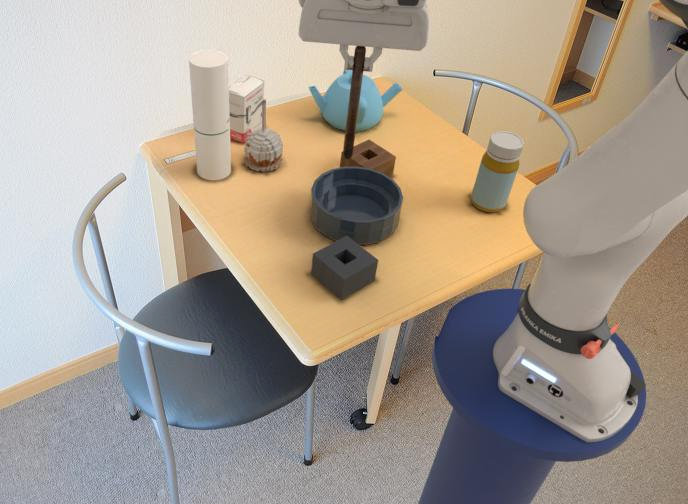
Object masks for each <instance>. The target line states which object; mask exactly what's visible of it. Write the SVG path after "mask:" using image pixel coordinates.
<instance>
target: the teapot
mask: <svg viewBox="0 0 688 504" xmlns="http://www.w3.org/2000/svg"><path fill="white" fill-rule="evenodd" d="M351 78H352V70H344V69H343V73H342V74H341V75H339V76H338V77H336V79H334V81H333V82H332V83H331V84H330V85H329V86H328V87H327V90H326V91H325V93H324V94H323V95H322V93H321V92H320V91H319V89H318V88H317V86H316V85H311V86H308V90H309V92H310V95H312V98H313V99H314V102H315V103H316V105H317V107H318V109H319V111H320V113H321V115H322V117H323V118H324V120H325V121H326V122H327V123H328V124H329V125H330V126H332V127H333V128H336V129H338V130H341V131H344V132H345V130H346V121H347V113H348V104H349V96H350V87H351ZM403 90H404V89H403V88H402V86H401V85H400V84H399V83H398V82H394V83H393V84H392V85H391V86H390V87H389V88H387V90H386V91H385V92H384V93H383V94H382V95H381V93H380V90H379V89H378V87H377V85H376V83H375V81H374V80H373V79H372V78H371V77H369V76H368V75H366V74H363V78H362V86H361V93H360V101H359V109H358V117H357V124H356V132H355V133H358V132H363V131H367V130H369V129H371V128H373V127H375V126H376V125H377V124H378V123H379V122H380V121H381V120H382V118H383V115H384V108H385V107H386V106H387V105H388V104H389V103H390V102H391V101H392V100H393V99H395V97H397V95H399V94H400V93H401V92H402V91H403Z"/></svg>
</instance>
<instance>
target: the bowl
mask: <svg viewBox="0 0 688 504" xmlns="http://www.w3.org/2000/svg"><path fill="white" fill-rule="evenodd" d="M403 199H404V195H403V191H402V189H401V187H400V186H399V185H398V183H397V182H396V181H395V180H394V179H393V178H392V177H388V176H387V175H385V174H384V173H381V172H378V171H376V170H373V169H369V168H364V167H340V166H339V167H335V168H331V169H329V170H327V171H325V172H323V173H321V174H320V175H319V176H318V177H317V178H316V179H314V181H313V184H312V186H311V189H310V199H309V200H310V201H309V218H310V221H311V223H312V225H313V227H315V229H316V230H318V231H319V232H320V233H321V234H322V235H323V236H325V237H327V238H329V239H332V240H334V241H337V240H339V239H341V238H343V237H345V236H348V237H350V238H351V239H352V240H353V241H355V242H356V243H357V244H359V245H370V244H374V243H379V242H382V241H383V240H385V239H386V238H387V239H388V238H389V237H391V236H392V234H394V232H395V231H396V230H397V228H398V225H399V222H400V221H399V220H400V216H401V211H402V206H403V202H404V201H403Z"/></svg>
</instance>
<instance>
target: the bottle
mask: <svg viewBox="0 0 688 504" xmlns="http://www.w3.org/2000/svg"><path fill="white" fill-rule="evenodd" d="M524 145H525V141H524V139H523V137H521V136H520V135H518V134H516V133H514V132H511V131H507V130H506V131H505V130H500V131H499V130H498V131H495V132H493V133H492V134H491V135H490V137H489V141H488V144H487V148H486V151H485V152H484V153H483V154H482V157H481V159H480V163H479V167H478V171H477V174H476V178H475V181H474V184H473V188H472V191H471V194H470V195H471V196H470V202H471V203H472V204H473V206H474V207H475V208H476V209H477V210H479V211H481V212H485V213H490V214H491V213H492V214H493V213H498V212H500V211H502V210H504V209H505V208H506V206H507V203H508V200H509V197H510V194H511V192H512V189H513V185H514V183H515V180H516V176H517V174H518V171H519V168H520V157H521V154H522V152H523V148H524Z"/></svg>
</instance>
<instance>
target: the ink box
mask: <svg viewBox="0 0 688 504" xmlns="http://www.w3.org/2000/svg"><path fill="white" fill-rule="evenodd" d="M263 99H265V80H263V79H261V78H259V77H256V76H252V75H249V74H246V75H243V76H242V77H240V79H238V80H236V81H235V82H234V83H233V84H231V85H229V113H230V140H233V141H237V142H240V143H242V144H244V143H245V142H246V141H247V138H248V137H249V134H250V133H252V132H253V131H254V130H256V129H257V128H259V129H260V128H262V100H263Z"/></svg>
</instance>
